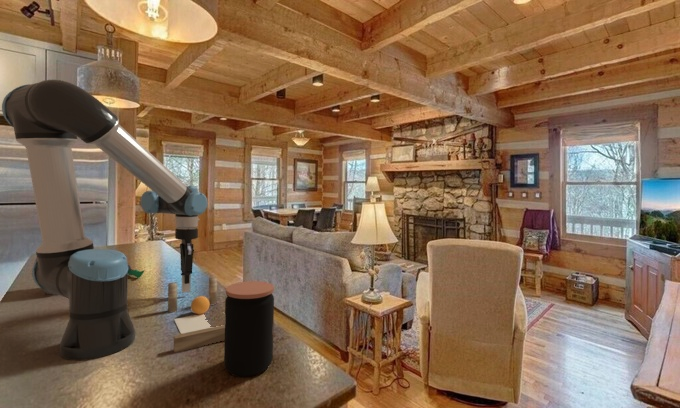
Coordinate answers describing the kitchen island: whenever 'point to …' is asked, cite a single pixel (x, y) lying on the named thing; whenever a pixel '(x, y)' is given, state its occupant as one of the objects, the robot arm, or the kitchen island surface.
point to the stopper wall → (198, 338)
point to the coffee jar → (248, 327)
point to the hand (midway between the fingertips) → (186, 291)
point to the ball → (200, 305)
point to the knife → (134, 272)
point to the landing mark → (192, 323)
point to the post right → (212, 290)
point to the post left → (172, 297)
